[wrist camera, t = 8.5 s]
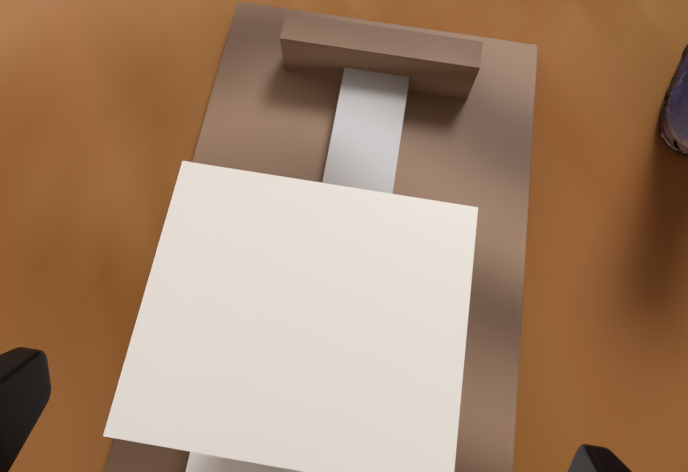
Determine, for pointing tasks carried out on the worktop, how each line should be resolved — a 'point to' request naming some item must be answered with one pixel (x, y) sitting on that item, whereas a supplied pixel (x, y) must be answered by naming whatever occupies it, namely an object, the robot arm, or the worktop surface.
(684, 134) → the flask
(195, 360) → the slider
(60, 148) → the worktop surface
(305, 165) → the rail board
